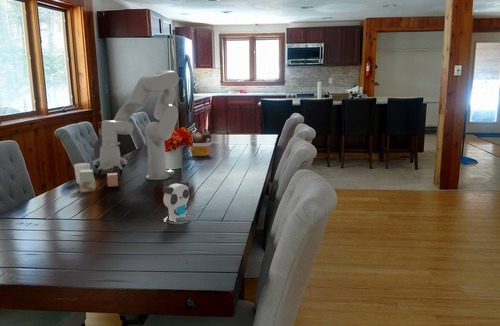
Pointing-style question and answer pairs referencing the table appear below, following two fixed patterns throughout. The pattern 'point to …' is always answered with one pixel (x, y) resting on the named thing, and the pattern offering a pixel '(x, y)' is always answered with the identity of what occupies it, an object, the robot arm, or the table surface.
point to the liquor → (97, 148)
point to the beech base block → (87, 186)
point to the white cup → (80, 167)
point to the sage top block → (86, 175)
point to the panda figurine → (176, 200)
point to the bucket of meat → (201, 143)
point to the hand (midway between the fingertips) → (110, 176)
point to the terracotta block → (112, 179)
